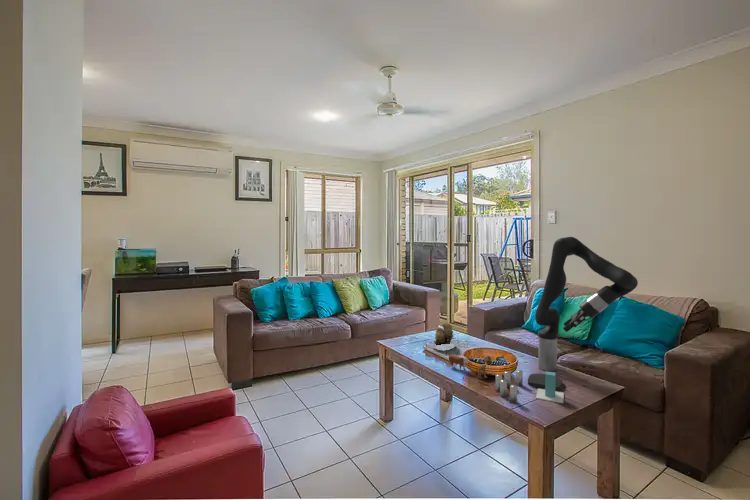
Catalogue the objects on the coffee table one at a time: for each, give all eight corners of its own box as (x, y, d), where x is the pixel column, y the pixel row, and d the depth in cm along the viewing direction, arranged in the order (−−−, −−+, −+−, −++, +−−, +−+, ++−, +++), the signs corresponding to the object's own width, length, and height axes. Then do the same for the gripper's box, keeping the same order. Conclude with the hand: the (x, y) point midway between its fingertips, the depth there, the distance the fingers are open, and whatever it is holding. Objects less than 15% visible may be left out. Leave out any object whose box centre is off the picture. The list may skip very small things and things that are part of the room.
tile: (537, 389, 177) (537, 388, 177) (563, 393, 172) (563, 392, 172) (535, 398, 167) (535, 397, 167) (563, 403, 162) (563, 402, 162)
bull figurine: (466, 373, 198) (466, 358, 197) (447, 366, 208) (447, 352, 208) (471, 371, 200) (471, 357, 200) (452, 365, 211) (452, 350, 211)
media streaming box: (559, 393, 173) (559, 387, 173) (526, 386, 181) (526, 380, 181) (563, 382, 186) (563, 376, 185) (531, 376, 193) (531, 371, 193)
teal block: (545, 392, 172) (545, 371, 172) (555, 394, 170) (555, 372, 170) (545, 395, 169) (545, 374, 168) (554, 397, 167) (555, 375, 166)
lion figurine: (483, 370, 203) (483, 353, 202) (493, 371, 200) (493, 355, 200) (476, 379, 190) (476, 362, 189) (487, 381, 187) (487, 364, 187)
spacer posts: (499, 380, 188) (499, 366, 188) (522, 384, 183) (522, 370, 183) (490, 398, 168) (490, 383, 168) (516, 403, 163) (516, 388, 162)
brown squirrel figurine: (444, 342, 254) (444, 318, 253) (459, 346, 246) (459, 320, 245) (428, 348, 241) (428, 322, 240) (444, 352, 233) (444, 326, 232)
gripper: (586, 296, 173) (558, 318, 179) (587, 301, 161) (558, 325, 167) (599, 308, 171) (571, 330, 177) (602, 315, 158) (571, 338, 164)
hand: (564, 327), depth 172 cm, fingers open, 8 cm apart
